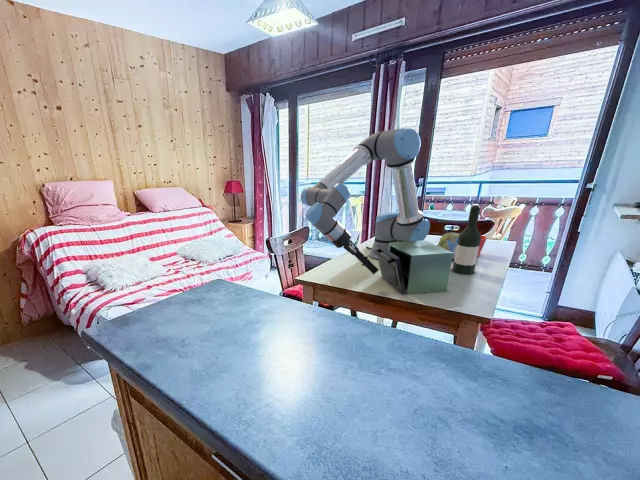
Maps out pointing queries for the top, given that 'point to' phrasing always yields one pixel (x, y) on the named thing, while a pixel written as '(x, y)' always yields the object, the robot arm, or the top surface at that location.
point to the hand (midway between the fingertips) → (375, 271)
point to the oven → (423, 265)
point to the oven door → (390, 268)
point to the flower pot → (481, 244)
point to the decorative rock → (449, 242)
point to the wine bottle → (468, 244)
